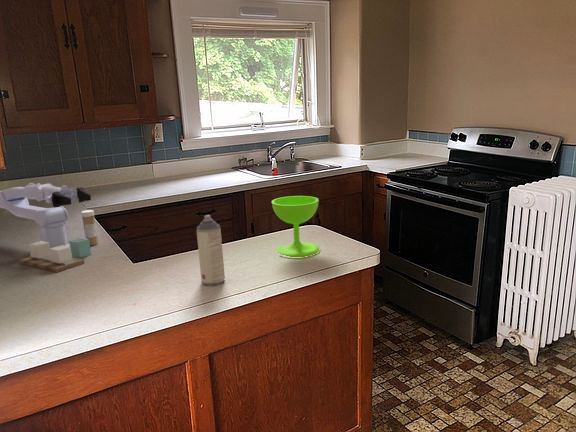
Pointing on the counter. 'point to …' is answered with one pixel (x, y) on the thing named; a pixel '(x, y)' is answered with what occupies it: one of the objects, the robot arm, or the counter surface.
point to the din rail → (48, 258)
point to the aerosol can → (210, 252)
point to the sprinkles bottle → (89, 226)
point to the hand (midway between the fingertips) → (80, 199)
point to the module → (80, 247)
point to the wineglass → (296, 222)
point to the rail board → (50, 264)
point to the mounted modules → (50, 251)
